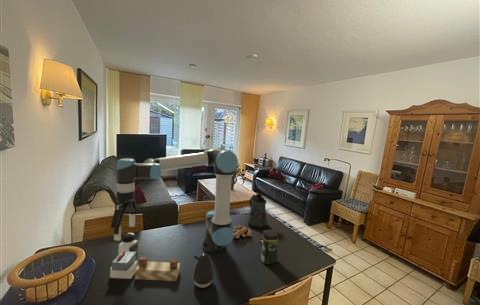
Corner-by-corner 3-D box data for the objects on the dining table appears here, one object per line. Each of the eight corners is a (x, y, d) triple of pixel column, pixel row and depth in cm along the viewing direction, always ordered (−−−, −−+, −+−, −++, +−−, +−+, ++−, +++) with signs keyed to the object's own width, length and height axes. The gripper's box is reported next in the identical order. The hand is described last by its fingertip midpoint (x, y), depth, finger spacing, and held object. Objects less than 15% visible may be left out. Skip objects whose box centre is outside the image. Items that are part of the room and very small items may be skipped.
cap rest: (137, 269, 107) (137, 260, 106) (131, 278, 101) (131, 269, 100) (117, 268, 107) (117, 259, 106) (110, 277, 100) (110, 268, 100)
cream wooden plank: (179, 272, 108) (180, 255, 107) (176, 280, 101) (177, 263, 100) (141, 270, 107) (141, 253, 106) (135, 279, 101) (135, 261, 100)
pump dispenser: (193, 276, 106) (194, 248, 104) (213, 276, 107) (215, 248, 105) (190, 291, 96) (191, 260, 94) (212, 291, 97) (214, 261, 95)
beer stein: (261, 231, 158) (264, 200, 155) (240, 224, 168) (242, 194, 165) (270, 224, 172) (273, 195, 169) (250, 217, 182) (252, 190, 179)
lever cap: (135, 259, 108) (135, 249, 107) (126, 270, 99) (126, 260, 98) (122, 258, 108) (122, 249, 107) (111, 270, 99) (111, 260, 98)
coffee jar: (272, 255, 128) (275, 227, 126) (278, 263, 121) (281, 233, 119) (258, 257, 126) (261, 228, 124) (263, 265, 118) (266, 234, 116)
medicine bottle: (129, 259, 115) (129, 238, 114) (118, 256, 117) (118, 236, 115) (137, 251, 122) (138, 232, 121) (127, 249, 124) (127, 230, 122)
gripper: (130, 183, 112) (130, 221, 114) (101, 199, 87) (101, 246, 89) (144, 184, 112) (143, 221, 114) (119, 200, 87) (118, 247, 89)
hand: (125, 232), depth 102 cm, fingers open, 13 cm apart
